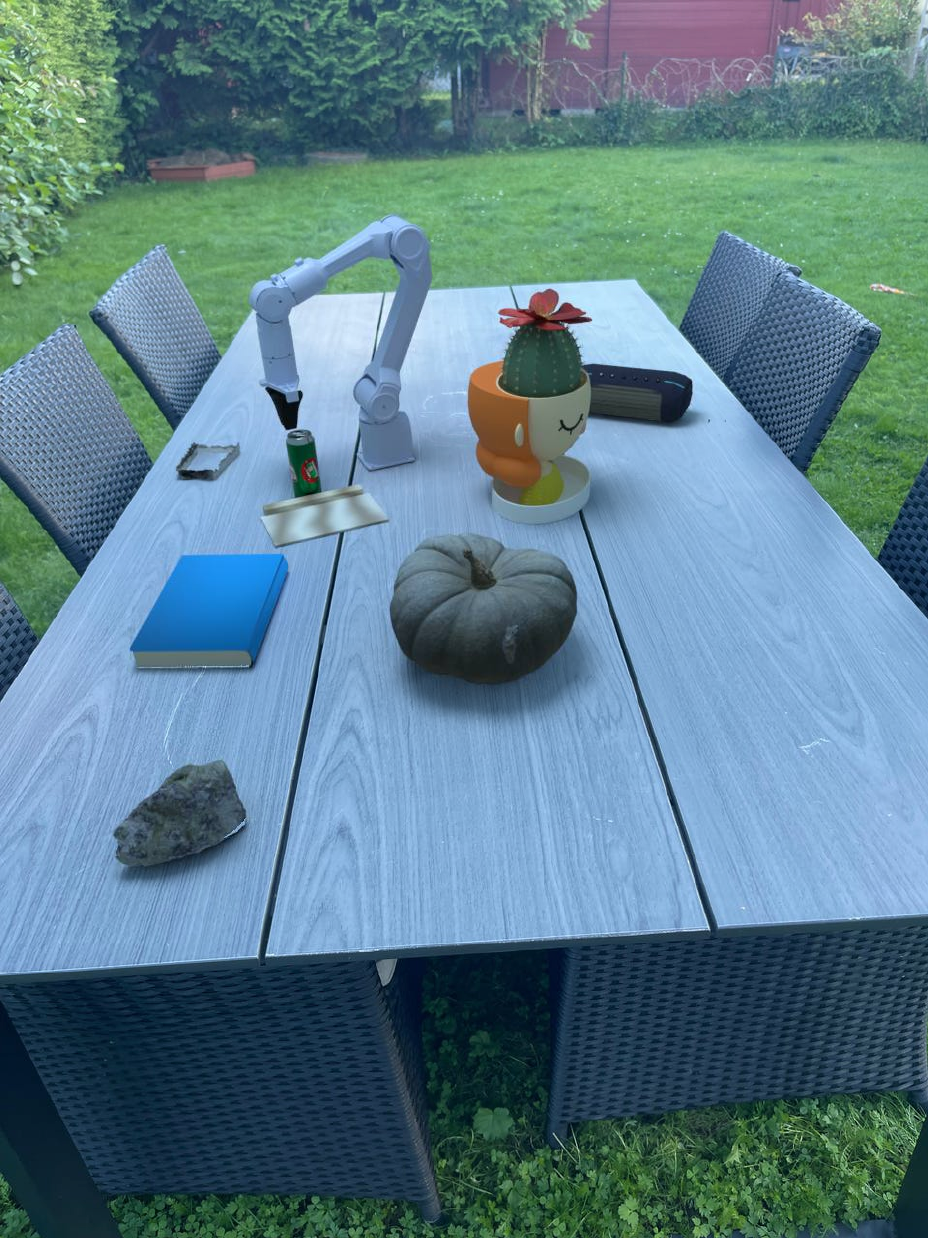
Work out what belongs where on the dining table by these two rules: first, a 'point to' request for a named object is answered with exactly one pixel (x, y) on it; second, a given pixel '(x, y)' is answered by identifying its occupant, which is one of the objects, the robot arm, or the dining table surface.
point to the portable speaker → (638, 392)
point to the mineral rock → (181, 816)
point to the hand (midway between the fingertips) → (289, 426)
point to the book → (211, 611)
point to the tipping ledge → (320, 515)
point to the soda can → (303, 463)
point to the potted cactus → (534, 415)
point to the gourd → (481, 608)
